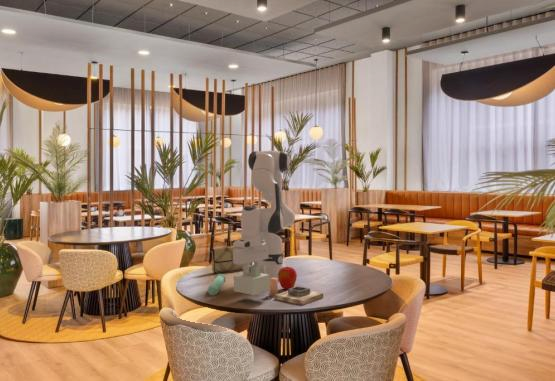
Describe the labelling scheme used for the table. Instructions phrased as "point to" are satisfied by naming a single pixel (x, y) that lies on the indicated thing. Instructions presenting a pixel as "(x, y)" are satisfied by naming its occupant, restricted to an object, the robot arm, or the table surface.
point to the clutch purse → (224, 260)
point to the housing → (251, 281)
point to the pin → (273, 286)
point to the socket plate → (299, 295)
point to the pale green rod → (216, 284)
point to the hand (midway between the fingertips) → (251, 271)
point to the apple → (287, 277)
